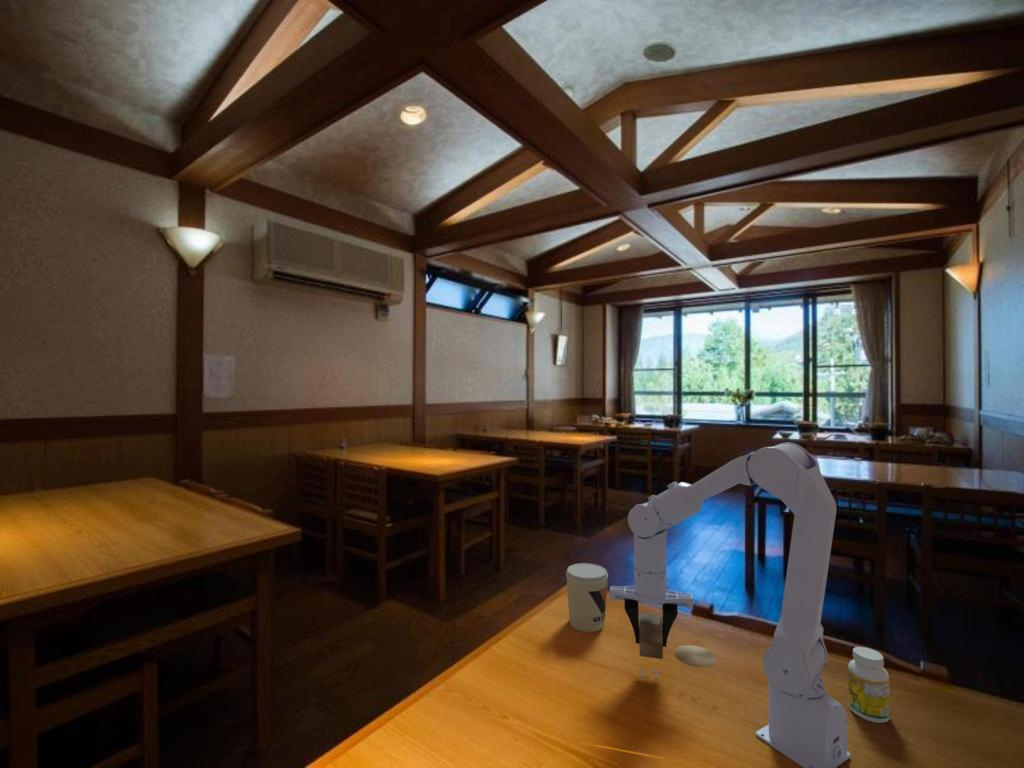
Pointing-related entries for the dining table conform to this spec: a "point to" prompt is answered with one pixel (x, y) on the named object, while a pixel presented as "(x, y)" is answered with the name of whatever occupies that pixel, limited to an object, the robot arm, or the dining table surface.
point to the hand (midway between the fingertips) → (650, 642)
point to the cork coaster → (695, 656)
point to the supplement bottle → (868, 685)
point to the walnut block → (651, 635)
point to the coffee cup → (587, 596)
